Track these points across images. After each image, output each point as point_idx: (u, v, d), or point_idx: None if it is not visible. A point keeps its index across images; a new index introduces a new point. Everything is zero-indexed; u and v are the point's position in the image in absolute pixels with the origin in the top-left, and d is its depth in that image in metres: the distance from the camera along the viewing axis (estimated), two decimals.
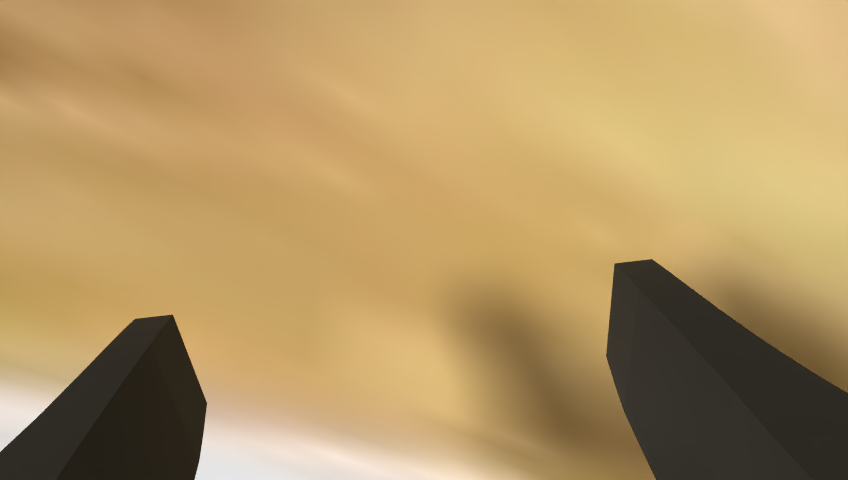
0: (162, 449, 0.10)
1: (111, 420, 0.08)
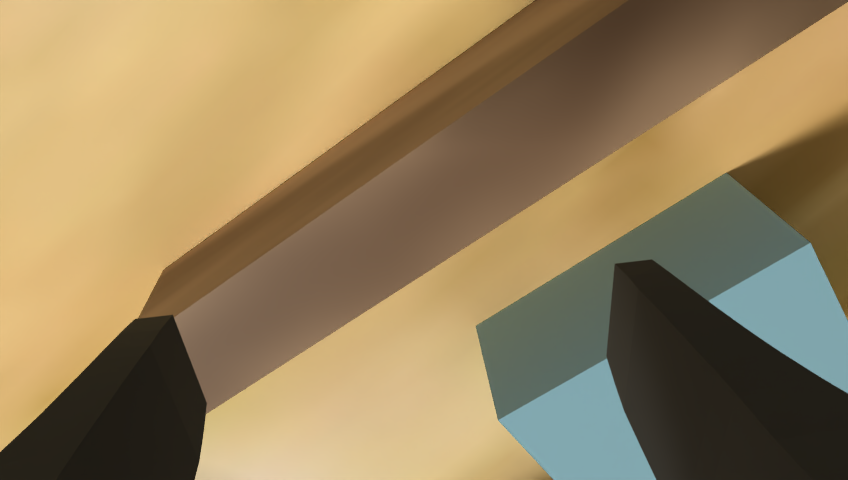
0: (162, 449, 0.10)
1: (111, 420, 0.08)
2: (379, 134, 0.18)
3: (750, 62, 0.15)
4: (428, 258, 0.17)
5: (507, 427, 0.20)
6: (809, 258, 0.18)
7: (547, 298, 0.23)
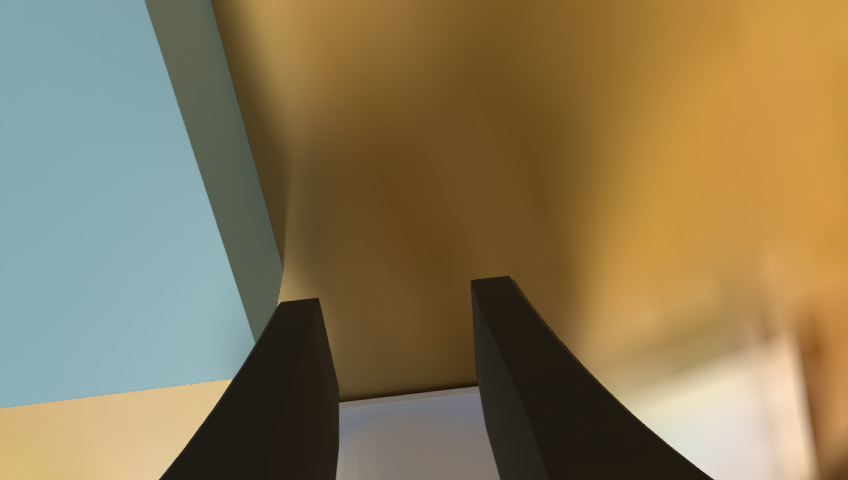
0: (320, 430, 0.10)
1: (295, 398, 0.08)
2: None
3: None
4: None
5: None
6: None
7: None
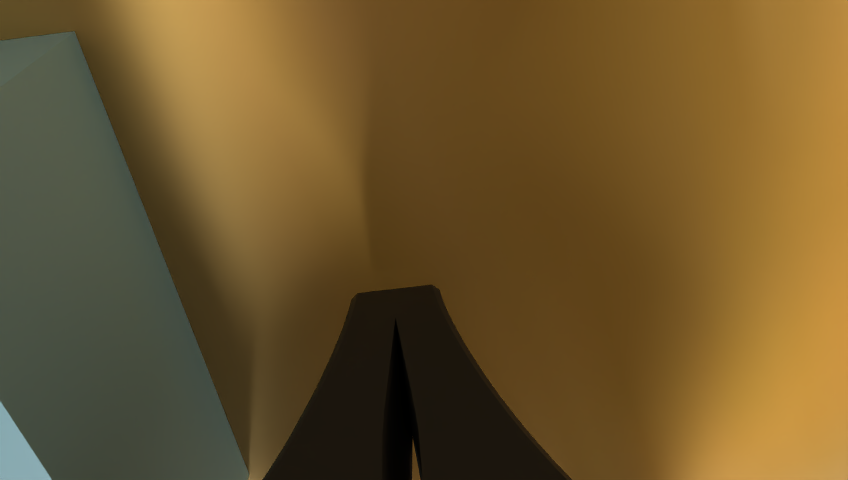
0: (403, 420, 0.10)
1: (390, 387, 0.08)
2: None
3: None
4: None
5: None
6: None
7: None
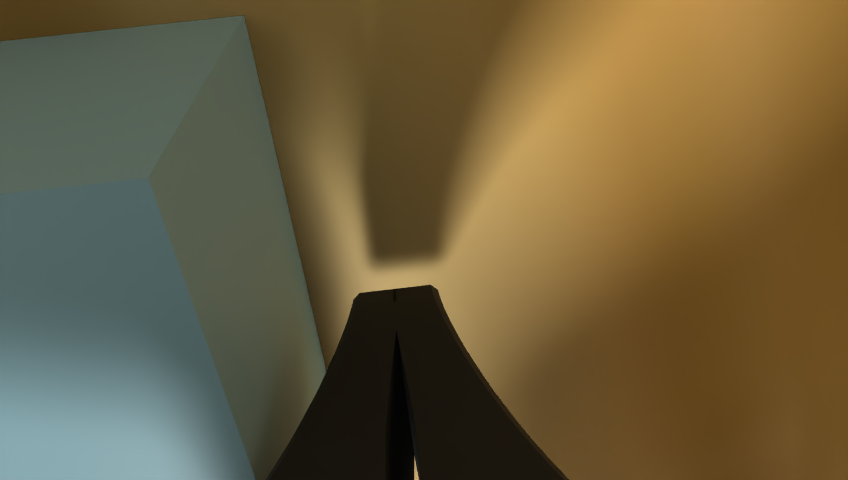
0: (405, 420, 0.10)
1: (393, 387, 0.08)
2: None
3: None
4: None
5: None
6: None
7: None
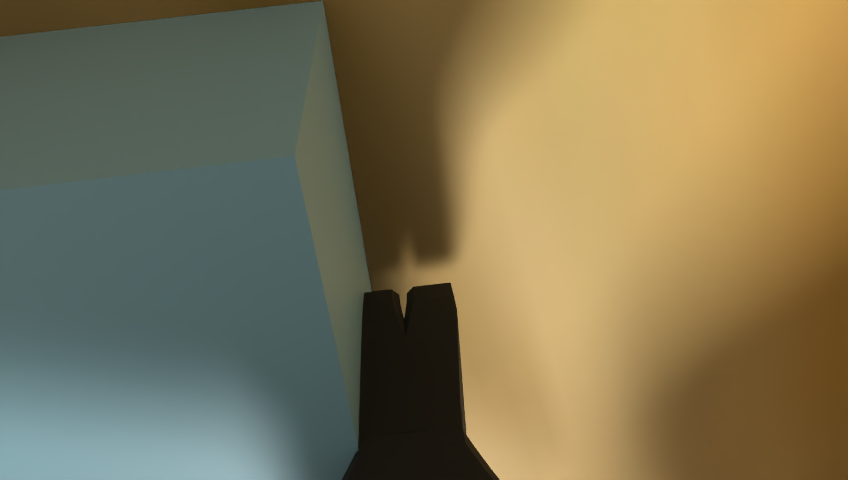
0: (463, 413, 0.10)
1: None
2: None
3: None
4: None
5: None
6: None
7: None
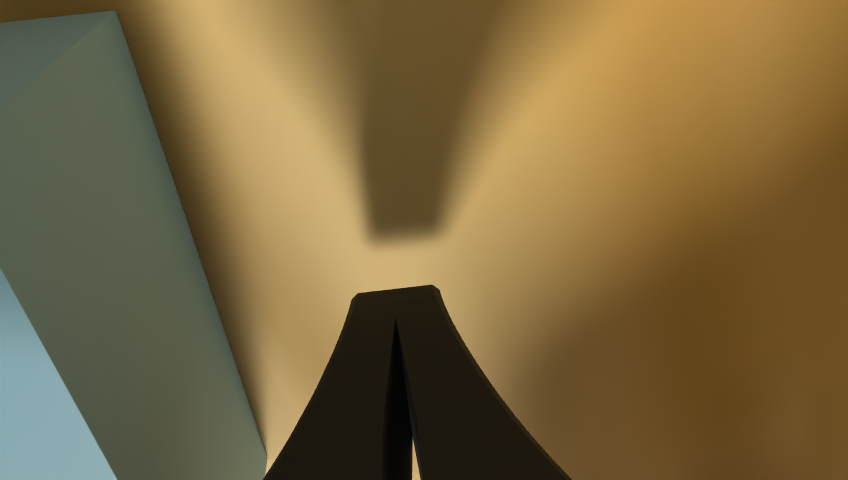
0: (403, 420, 0.10)
1: (390, 387, 0.08)
2: None
3: None
4: None
5: None
6: None
7: None
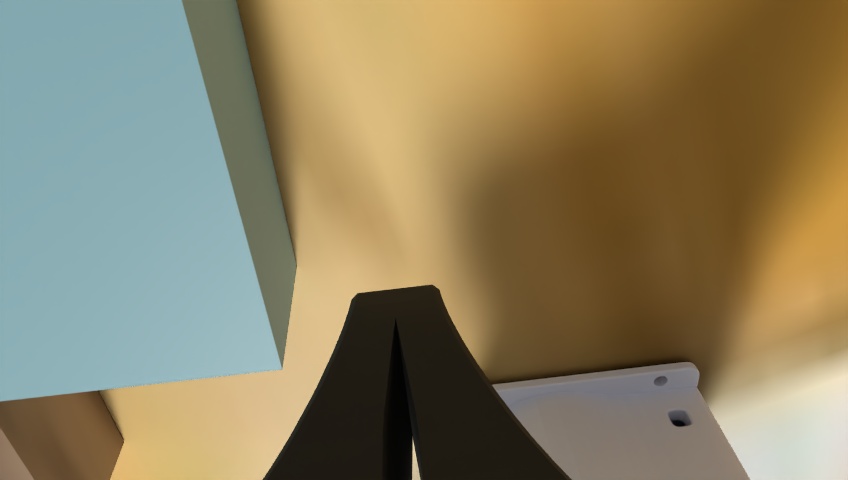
0: (403, 420, 0.10)
1: (390, 387, 0.08)
2: None
3: None
4: None
5: None
6: None
7: None
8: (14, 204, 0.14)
